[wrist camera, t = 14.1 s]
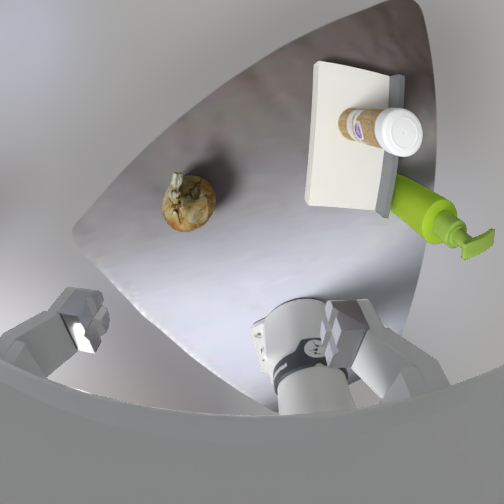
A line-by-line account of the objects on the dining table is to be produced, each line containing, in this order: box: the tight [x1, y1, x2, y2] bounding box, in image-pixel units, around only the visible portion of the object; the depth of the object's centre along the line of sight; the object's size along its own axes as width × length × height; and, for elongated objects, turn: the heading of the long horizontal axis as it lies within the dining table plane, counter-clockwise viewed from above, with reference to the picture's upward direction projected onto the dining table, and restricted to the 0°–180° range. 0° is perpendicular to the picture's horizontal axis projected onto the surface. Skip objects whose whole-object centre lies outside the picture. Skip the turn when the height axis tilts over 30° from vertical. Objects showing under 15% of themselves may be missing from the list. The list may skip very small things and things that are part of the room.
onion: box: [162, 172, 216, 232], centre depth 35 cm, size 8×8×8 cm
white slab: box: [305, 61, 405, 218], centre depth 32 cm, size 20×11×6 cm, turn 178°
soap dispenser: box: [390, 173, 495, 260], centre depth 29 cm, size 6×7×20 cm
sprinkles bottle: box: [338, 108, 423, 157], centre depth 25 cm, size 5×5×13 cm
